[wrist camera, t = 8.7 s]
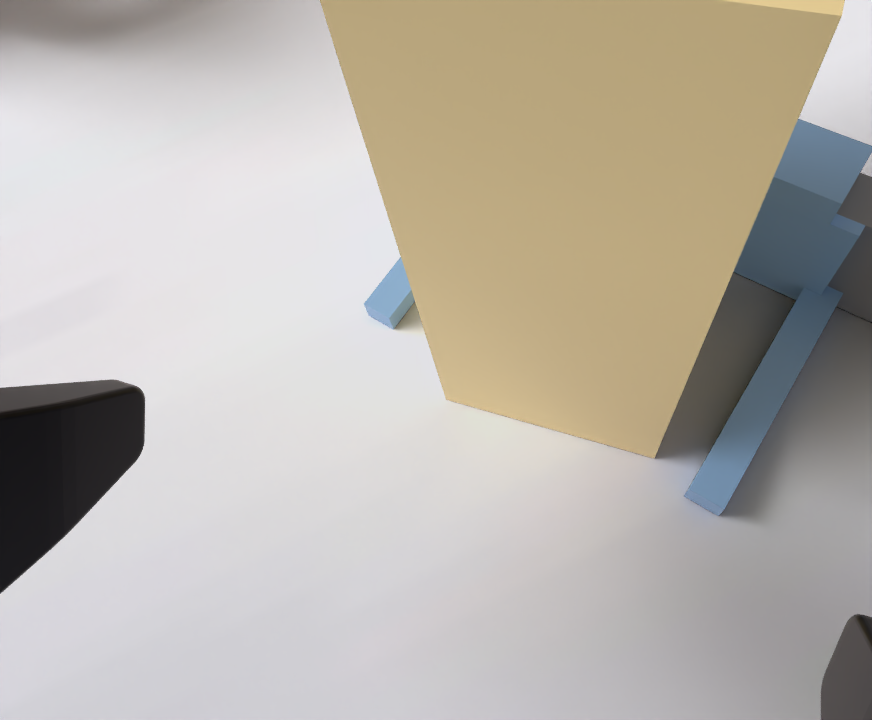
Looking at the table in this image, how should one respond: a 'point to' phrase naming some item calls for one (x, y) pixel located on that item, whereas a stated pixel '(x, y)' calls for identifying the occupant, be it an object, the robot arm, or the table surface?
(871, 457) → the table surface
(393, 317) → the gray bench frame
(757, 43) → the wooden block
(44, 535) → the robot arm
